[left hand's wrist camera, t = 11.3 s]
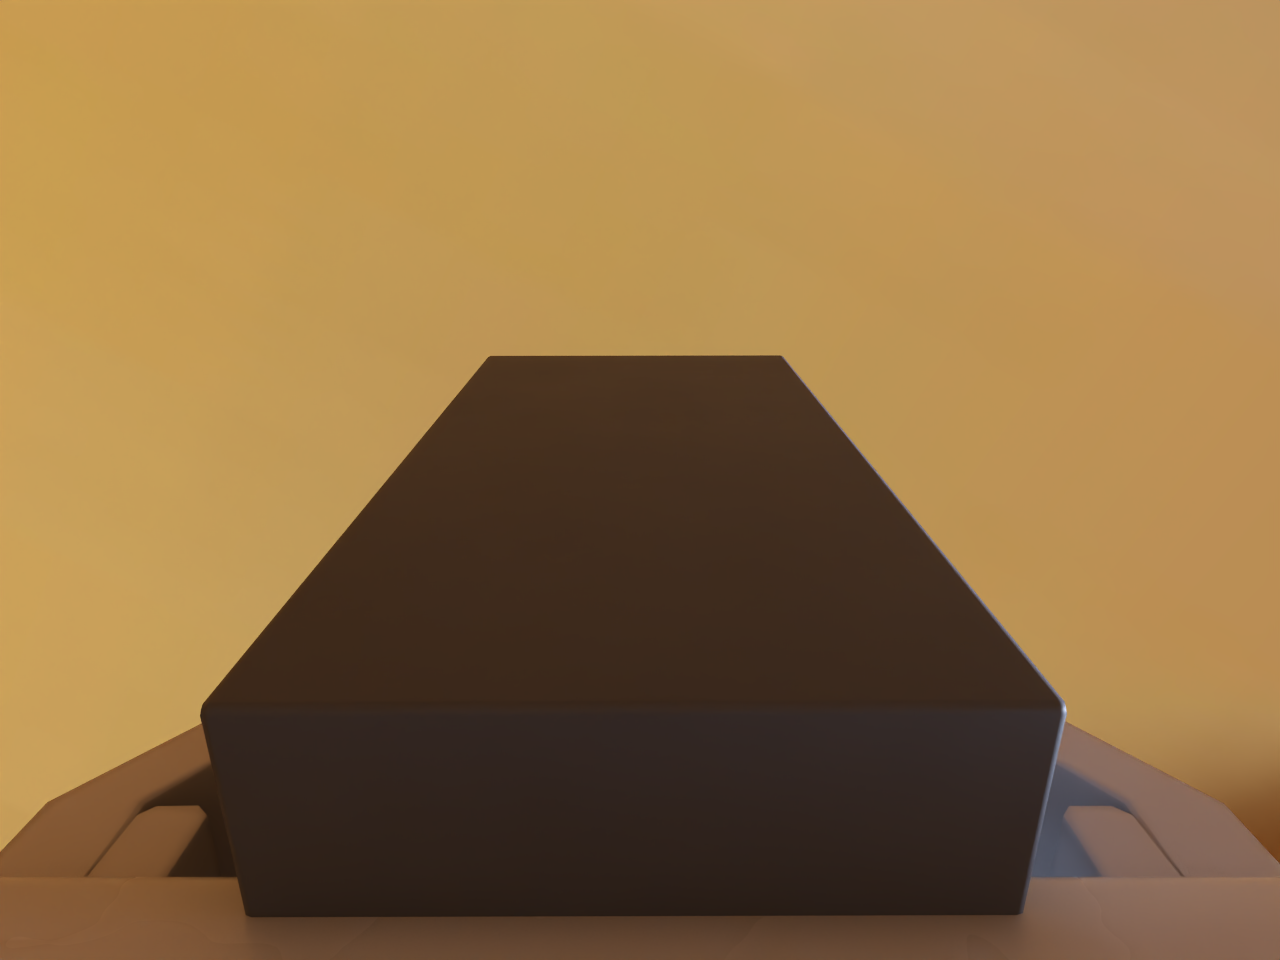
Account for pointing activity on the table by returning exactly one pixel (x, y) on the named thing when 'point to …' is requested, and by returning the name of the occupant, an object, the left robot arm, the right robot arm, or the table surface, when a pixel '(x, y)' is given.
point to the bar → (634, 674)
